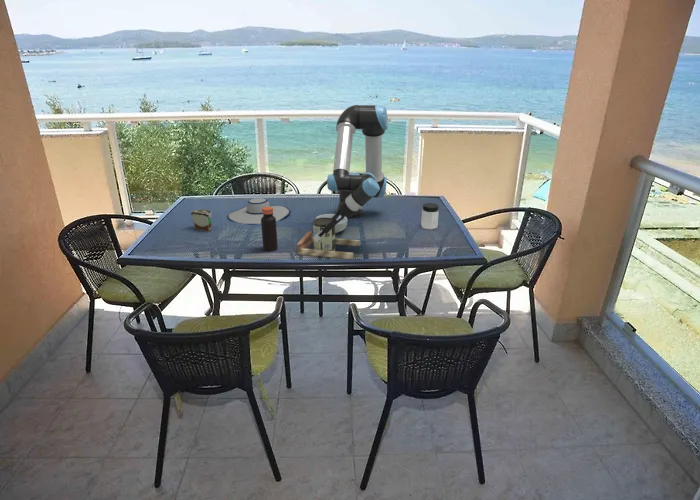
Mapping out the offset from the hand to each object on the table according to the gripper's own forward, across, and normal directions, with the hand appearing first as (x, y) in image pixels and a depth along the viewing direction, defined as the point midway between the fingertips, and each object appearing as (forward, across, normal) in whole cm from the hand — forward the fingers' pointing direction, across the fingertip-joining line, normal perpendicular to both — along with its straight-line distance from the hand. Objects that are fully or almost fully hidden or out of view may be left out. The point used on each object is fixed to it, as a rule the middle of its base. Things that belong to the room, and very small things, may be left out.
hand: (319, 234), depth 209 cm
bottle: (+21, -5, +11) cm, 24 cm away
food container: (+52, +14, +42) cm, 68 cm away
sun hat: (+40, +42, +29) cm, 65 cm away
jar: (-29, +42, -40) cm, 65 cm away
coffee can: (+4, 0, -7) cm, 8 cm away
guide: (+2, 0, -8) cm, 9 cm away
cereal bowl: (+6, +24, -5) cm, 25 cm away
